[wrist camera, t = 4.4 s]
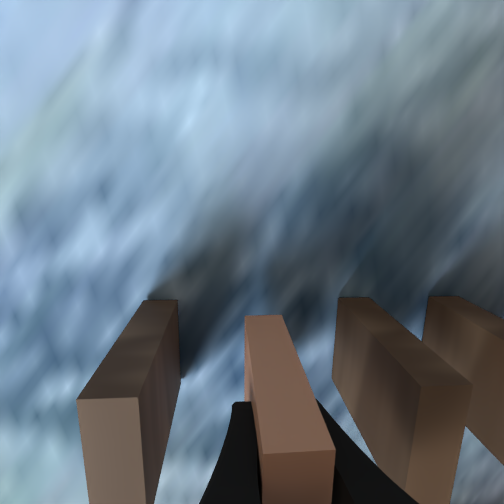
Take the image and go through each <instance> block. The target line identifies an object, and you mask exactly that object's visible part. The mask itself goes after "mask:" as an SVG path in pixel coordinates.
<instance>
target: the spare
mask: <svg viewBox="0 0 504 504" xmlns="http://www.w3.org/2000/svg"><path fill="white" fill-rule="evenodd" d="M245 401H251V403H252V409H253V415H254V422H255V429H256V436H257V475H258V488H259V496H260V503H261V504H331V501H332V489H333V477H334V465H335V452H336V449H335V447H334V444H333V442H332V439H331V437H330V434H329V432H328V429H327V427H326V424H325V422H324V419H323V417H322V414H321V412H320V409H319V407H318V404H317V402H316V399H315V397H314V394H313V392H312V389H311V387H310V384H309V382H308V379H307V377H306V374H305V372H304V369H303V367H302V364H301V362H300V359H299V357H298V355H297V352H296V350H295V347H294V345H293V342H292V340H291V337H290V335H289V332H288V330H287V327H286V325H285V322H284V320H283V317H282V315H255V316H245Z"/></svg>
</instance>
